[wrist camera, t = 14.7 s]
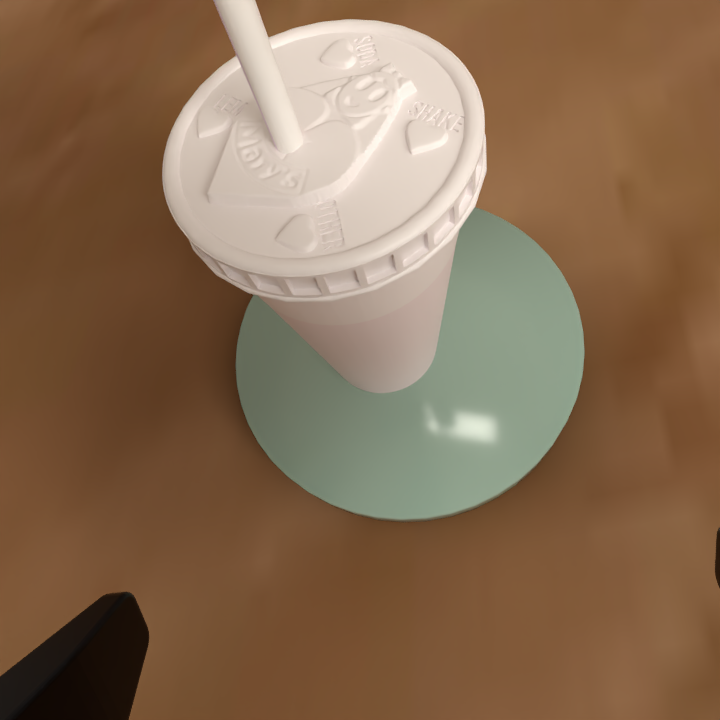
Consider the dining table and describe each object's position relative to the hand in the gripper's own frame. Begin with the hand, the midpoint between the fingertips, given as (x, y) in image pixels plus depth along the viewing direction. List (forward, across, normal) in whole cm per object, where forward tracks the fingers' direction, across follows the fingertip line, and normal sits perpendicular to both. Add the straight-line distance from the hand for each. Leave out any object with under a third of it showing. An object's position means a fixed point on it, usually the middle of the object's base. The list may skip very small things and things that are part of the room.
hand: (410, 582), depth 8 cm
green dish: (+12, 0, +1) cm, 12 cm away
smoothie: (+12, +1, 0) cm, 12 cm away
